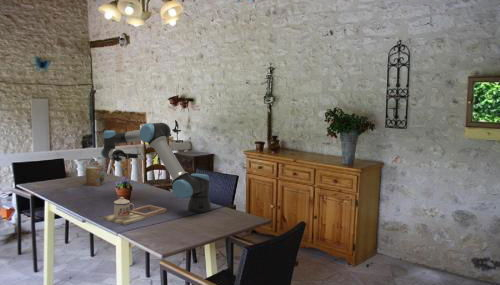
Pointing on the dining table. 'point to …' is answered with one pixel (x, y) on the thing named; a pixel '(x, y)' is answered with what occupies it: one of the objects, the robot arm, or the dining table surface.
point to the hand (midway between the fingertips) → (134, 158)
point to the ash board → (126, 221)
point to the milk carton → (95, 174)
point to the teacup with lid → (122, 208)
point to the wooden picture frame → (158, 211)
